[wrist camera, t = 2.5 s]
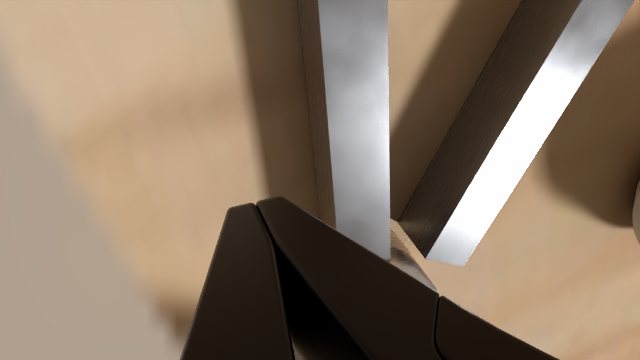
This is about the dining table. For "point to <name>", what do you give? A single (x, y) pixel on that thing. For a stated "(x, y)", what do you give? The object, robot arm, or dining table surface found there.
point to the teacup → (637, 213)
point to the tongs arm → (350, 115)
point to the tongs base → (503, 126)
